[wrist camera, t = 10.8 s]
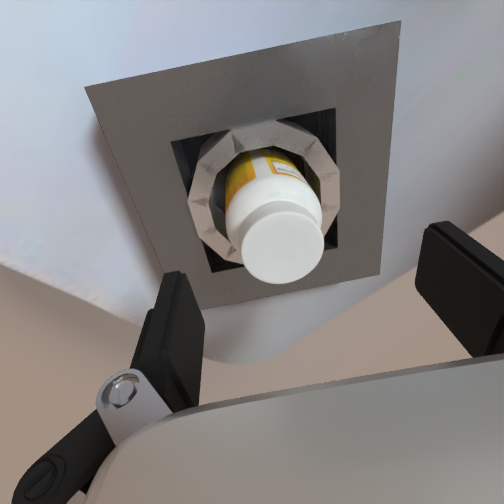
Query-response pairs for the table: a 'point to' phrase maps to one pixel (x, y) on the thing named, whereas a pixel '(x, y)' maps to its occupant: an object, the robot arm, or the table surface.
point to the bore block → (253, 137)
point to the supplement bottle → (272, 216)
